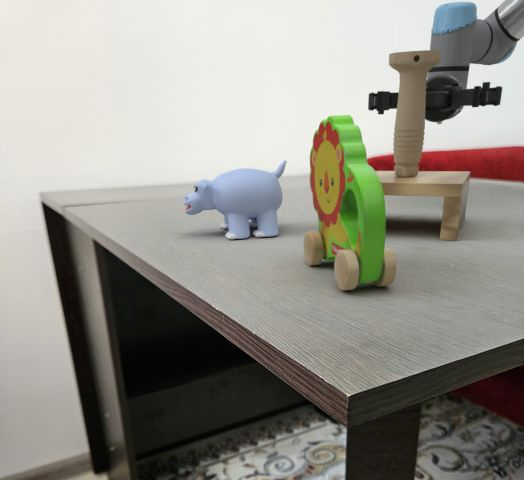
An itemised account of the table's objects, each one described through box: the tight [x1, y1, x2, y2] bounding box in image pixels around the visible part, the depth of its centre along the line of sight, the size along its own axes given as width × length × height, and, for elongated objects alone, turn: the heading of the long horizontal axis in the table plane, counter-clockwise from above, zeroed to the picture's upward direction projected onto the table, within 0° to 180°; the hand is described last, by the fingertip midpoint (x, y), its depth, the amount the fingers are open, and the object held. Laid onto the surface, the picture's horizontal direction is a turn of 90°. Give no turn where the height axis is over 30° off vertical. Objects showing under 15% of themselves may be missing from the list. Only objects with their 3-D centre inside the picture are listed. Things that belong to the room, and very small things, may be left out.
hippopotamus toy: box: [183, 159, 288, 240], centre depth 74 cm, size 11×15×10 cm
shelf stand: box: [375, 170, 471, 241], centre depth 74 cm, size 16×14×7 cm
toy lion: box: [303, 114, 397, 291], centre depth 52 cm, size 16×5×15 cm, turn 13°
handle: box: [388, 49, 442, 177], centre depth 69 cm, size 5×6×15 cm
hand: (426, 99), depth 76 cm, fingers open, 13 cm apart
